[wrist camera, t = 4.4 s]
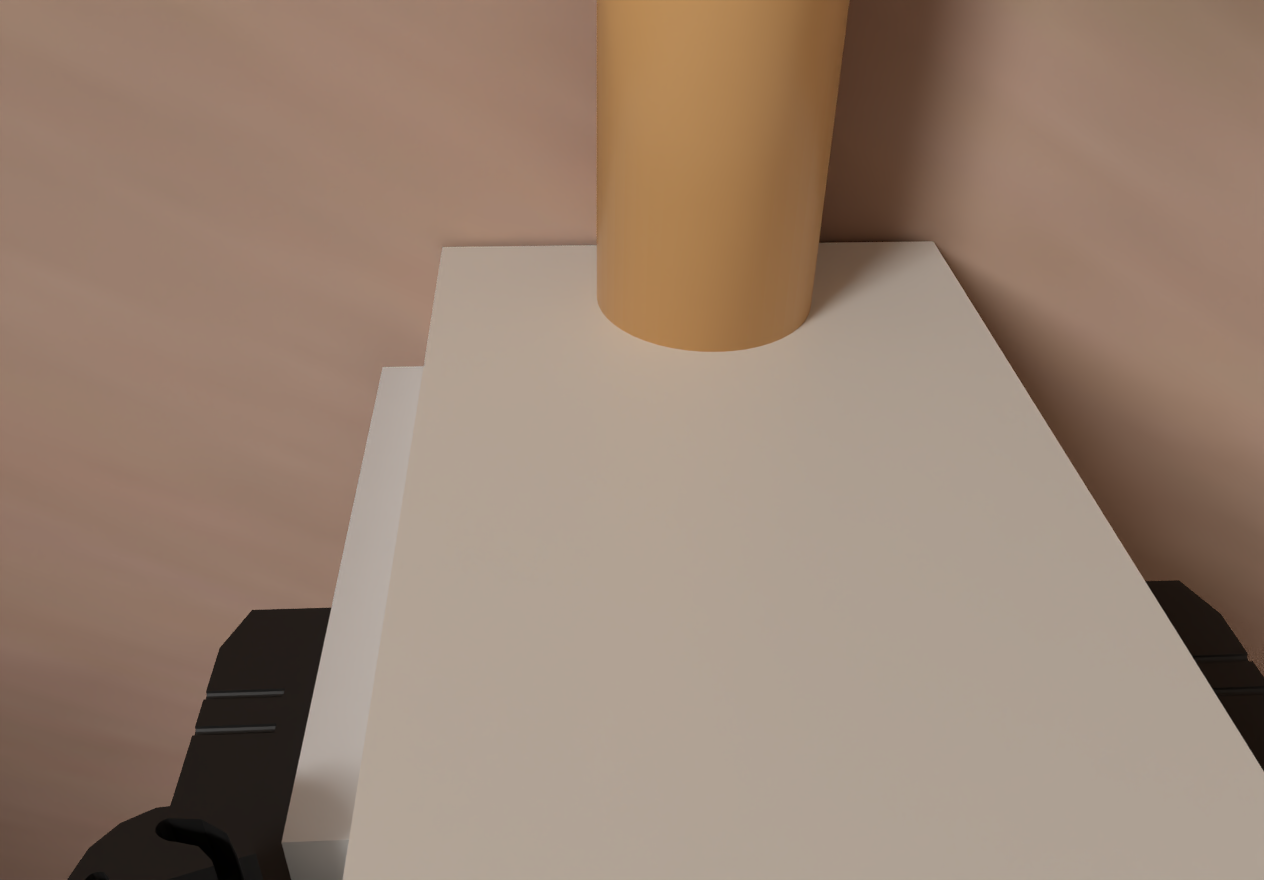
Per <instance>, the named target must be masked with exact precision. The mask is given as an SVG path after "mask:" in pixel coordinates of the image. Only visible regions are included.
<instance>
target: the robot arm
mask: <svg viewBox="0 0 1264 880" xmlns="http://www.w3.org/2000/svg"><path fill="white" fill-rule="evenodd" d="M423 367H424V366H416V367H383V368H382V373H381V377H380V382H379V387H378V392H377V396H376V401H375V406H374V410H373V415H372V420H371V424H370V429H369V434H368V439H367V443H366V448H365V453H364V457H363V462H362V467H361V471H360V476H359V481H358V485H357V490H356V495H355V500H354V504H353V509H352V514H351V518H350V523H349V528H348V532H347V537H346V542H345V547H344V551H343V556H342V561H341V565H340V570H339V575H338V579H337V584H336V589H335V594H334V598H333V603H332V608H306V609H272V610H252V611H251V612H250V613H249V614H248V616H247V617H246V618H245V619H244V620H243V622H242V623H241V624H240V625H239V626H238V627H237V629H236V630H235V631H234V632H233V633H232V634H231V636H230V637H229V638H228V639H227V640H226V641H225V643H224V644H223V645H222V646H221V647H220V649H219V652H218V655H217V659H216V662H215V665H214V668H213V671H212V675H211V678H210V681H209V684H208V687H207V691H206V693H207V697H206V700H203V703H202V707H201V710H200V713H199V716H198V719H197V722H196V726H195V728H196V732H195V736H192V738H191V742H190V745H189V748H188V751H187V754H186V758H185V761H184V764H183V767H182V770H181V774H180V777H179V780H178V783H177V786H176V790H175V793H174V796H173V799H172V802H171V806H168V807H160V808H155V809H152V810H150V811H148V812H145V813H143V814H141V815H138V816H136V817H134V818H131V819H129V820H127V821H124V822H122V823H120V824H119V825H117V826H116V827H115V828H114V829H112V830H111V831H110V832H109V833H107V834H106V835H105V836H104V837H102V838H101V839H100V840H99V841H97V842H96V843H95V844H94V845H92V846H91V847H90V848H89V849H88V850H87V852H86V853H85V855H84V856H83V858H82V859H81V860H80V862H79V863H78V865H77V866H76V868H75V869H74V870H73V872H72V873H71V875H70V876H69V878H68V880H343V874H344V868H345V862H346V855H347V849H348V843H349V836H350V830H351V824H352V817H353V811H354V805H355V798H356V792H357V786H358V779H359V773H360V766H361V760H362V754H363V747H364V741H365V735H366V728H367V722H368V716H369V709H370V703H371V697H372V690H373V684H374V678H375V671H376V665H377V659H378V652H379V646H380V640H381V633H382V627H383V621H384V614H385V608H386V602H387V595H388V589H389V583H390V576H391V570H392V564H393V557H394V551H395V545H396V538H397V532H398V526H399V519H400V513H401V506H402V500H403V494H404V487H405V481H406V475H407V468H408V462H409V456H410V449H411V443H412V437H413V430H414V424H415V418H416V411H417V405H418V399H419V392H420V386H421V380H422V373H423ZM1145 582H1146V583H1147V585H1148V587H1149V588H1150V590H1151V591H1152V593H1153V595H1154V596H1155V598H1156V599H1157V601H1158V603H1159V604H1160V606H1161V607H1162V609H1163V611H1164V612H1165V614H1166V615H1167V617H1168V619H1169V620H1170V622H1171V624H1172V625H1173V627H1174V628H1175V630H1176V632H1177V633H1178V635H1179V636H1180V638H1181V640H1182V641H1183V643H1184V644H1185V646H1186V648H1187V649H1188V651H1189V652H1190V654H1191V656H1192V657H1193V659H1194V660H1195V662H1196V664H1197V665H1198V667H1199V668H1200V670H1201V672H1202V673H1203V675H1204V676H1205V678H1206V680H1207V681H1208V683H1209V684H1210V686H1211V688H1212V689H1213V691H1214V692H1215V694H1216V696H1217V697H1218V699H1219V700H1220V702H1221V704H1222V705H1223V707H1224V709H1225V710H1226V712H1227V713H1228V715H1229V717H1230V718H1231V720H1232V721H1233V723H1234V725H1235V726H1236V728H1237V729H1238V731H1239V733H1240V734H1241V736H1242V737H1243V739H1244V741H1245V742H1246V744H1247V745H1248V747H1249V749H1250V750H1251V752H1252V753H1253V755H1254V757H1255V758H1256V760H1257V761H1258V763H1259V765H1260V766H1261V768H1262V769H1263V771H1264V677H1263V676H1262V674H1261V673H1260V671H1259V670H1258V668H1257V667H1256V665H1255V664H1254V662H1253V661H1252V662H1249V661H1248V659H1247V652H1246V651H1245V649H1244V648H1243V646H1242V645H1241V643H1240V642H1239V640H1238V639H1237V637H1236V636H1235V634H1234V633H1233V631H1232V630H1231V629H1230V627H1229V626H1228V624H1227V623H1226V621H1225V620H1224V618H1223V617H1222V615H1221V614H1220V613H1219V612H1217V611H1216V610H1215V609H1214V608H1212V607H1211V606H1210V605H1209V604H1207V603H1206V602H1205V601H1204V600H1202V599H1201V598H1200V597H1199V596H1197V595H1196V594H1195V593H1194V592H1192V591H1191V590H1190V589H1189V588H1188V587H1186V586H1185V585H1184V584H1183V583H1181V582H1180V581H1145Z"/></svg>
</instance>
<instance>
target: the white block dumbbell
mask: <svg viewBox="0 0 1264 880" xmlns="http://www.w3.org/2000/svg"><path fill="white" fill-rule="evenodd" d="M849 1H850V0H597V245H577V246H489V247H442V253H441V259H440V266H439V272H438V278H437V285H436V291H435V297H434V304H433V310H432V316H431V323H430V329H429V335H428V342H427V348H426V354H425V361H424V367H423V373H422V380H421V386H420V392H419V399H418V405H417V411H416V418H415V424H414V430H413V437H412V443H411V449H410V456H409V462H408V468H407V475H406V481H405V487H404V494H403V500H402V506H401V513H400V519H399V526H398V532H397V538H396V545H395V551H394V557H393V564H392V570H391V576H390V583H389V589H388V595H387V602H386V608H385V614H384V621H383V627H382V633H381V640H380V646H379V652H378V659H377V665H376V671H375V678H374V684H373V690H372V697H371V703H370V709H369V716H368V722H367V728H366V735H365V741H364V747H363V754H362V760H361V766H360V773H359V779H358V786H357V792H356V798H355V805H354V811H353V817H352V824H351V830H350V836H349V843H348V849H347V855H346V862H345V868H344V874H343V880H1264V771H1263V769H1262V768H1261V766H1260V765H1259V763H1258V761H1257V760H1256V758H1255V757H1254V755H1253V753H1252V752H1251V750H1250V749H1249V747H1248V745H1247V744H1246V742H1245V741H1244V739H1243V737H1242V736H1241V734H1240V733H1239V731H1238V729H1237V728H1236V726H1235V725H1234V723H1233V721H1232V720H1231V718H1230V717H1229V715H1228V713H1227V712H1226V710H1225V709H1224V707H1223V705H1222V704H1221V702H1220V700H1219V699H1218V697H1217V696H1216V694H1215V692H1214V691H1213V689H1212V688H1211V686H1210V684H1209V683H1208V681H1207V680H1206V678H1205V676H1204V675H1203V673H1202V672H1201V670H1200V668H1199V667H1198V665H1197V664H1196V662H1195V660H1194V659H1193V657H1192V656H1191V654H1190V652H1189V651H1188V649H1187V648H1186V646H1185V644H1184V643H1183V641H1182V640H1181V638H1180V636H1179V635H1178V633H1177V632H1176V630H1175V628H1174V627H1173V625H1172V624H1171V622H1170V620H1169V619H1168V617H1167V615H1166V614H1165V612H1164V611H1163V609H1162V607H1161V606H1160V604H1159V603H1158V601H1157V599H1156V598H1155V596H1154V595H1153V593H1152V591H1151V590H1150V588H1149V587H1148V585H1147V583H1146V582H1145V580H1144V579H1143V577H1142V575H1141V574H1140V572H1139V571H1138V569H1137V567H1136V566H1135V564H1134V563H1133V561H1132V559H1131V558H1130V556H1129V555H1128V553H1127V551H1126V550H1125V548H1124V547H1123V545H1122V543H1121V542H1120V540H1119V539H1118V537H1117V535H1116V534H1115V532H1114V531H1113V529H1112V527H1111V526H1110V524H1109V522H1108V521H1107V519H1106V518H1105V516H1104V514H1103V513H1102V511H1101V510H1100V508H1099V506H1098V505H1097V503H1096V502H1095V500H1094V498H1093V497H1092V495H1091V494H1090V492H1089V490H1088V489H1087V487H1086V486H1085V484H1084V482H1083V481H1082V479H1081V478H1080V476H1079V474H1078V473H1077V471H1076V470H1075V468H1074V466H1073V465H1072V463H1071V462H1070V460H1069V458H1068V457H1067V455H1066V454H1065V452H1064V450H1063V449H1062V447H1061V446H1060V444H1059V442H1058V441H1057V439H1056V437H1055V436H1054V434H1053V433H1052V431H1051V429H1050V428H1049V426H1048V425H1047V423H1046V421H1045V420H1044V418H1043V417H1042V415H1041V413H1040V412H1039V410H1038V409H1037V407H1036V405H1035V404H1034V402H1033V401H1032V399H1031V397H1030V396H1029V394H1028V393H1027V391H1026V389H1025V388H1024V386H1023V385H1022V383H1021V381H1020V380H1019V378H1018V377H1017V375H1016V373H1015V372H1014V370H1013V369H1012V367H1011V365H1010V364H1009V362H1008V361H1007V359H1006V357H1005V356H1004V354H1003V353H1002V351H1001V349H1000V348H999V346H998V344H997V343H996V341H995V340H994V338H993V336H992V335H991V333H990V332H989V330H988V328H987V327H986V325H985V324H984V322H983V320H982V319H981V317H980V316H979V314H978V312H977V311H976V309H975V308H974V306H973V304H972V303H971V301H970V300H969V298H968V296H967V295H966V293H965V292H964V290H963V288H962V287H961V285H960V284H959V282H958V280H957V279H956V277H955V276H954V274H953V272H952V271H951V269H950V268H949V266H948V264H947V263H946V261H945V259H944V258H943V256H942V255H941V253H940V251H939V250H938V248H937V247H936V245H935V243H934V242H933V241H929V242H841V243H819V238H820V230H821V222H822V214H823V206H824V199H825V191H826V183H827V175H828V167H829V159H830V151H831V143H832V135H833V127H834V120H835V112H836V104H837V96H838V88H839V80H840V72H841V64H842V56H843V49H844V41H845V33H846V25H847V17H848V9H849Z"/></svg>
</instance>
